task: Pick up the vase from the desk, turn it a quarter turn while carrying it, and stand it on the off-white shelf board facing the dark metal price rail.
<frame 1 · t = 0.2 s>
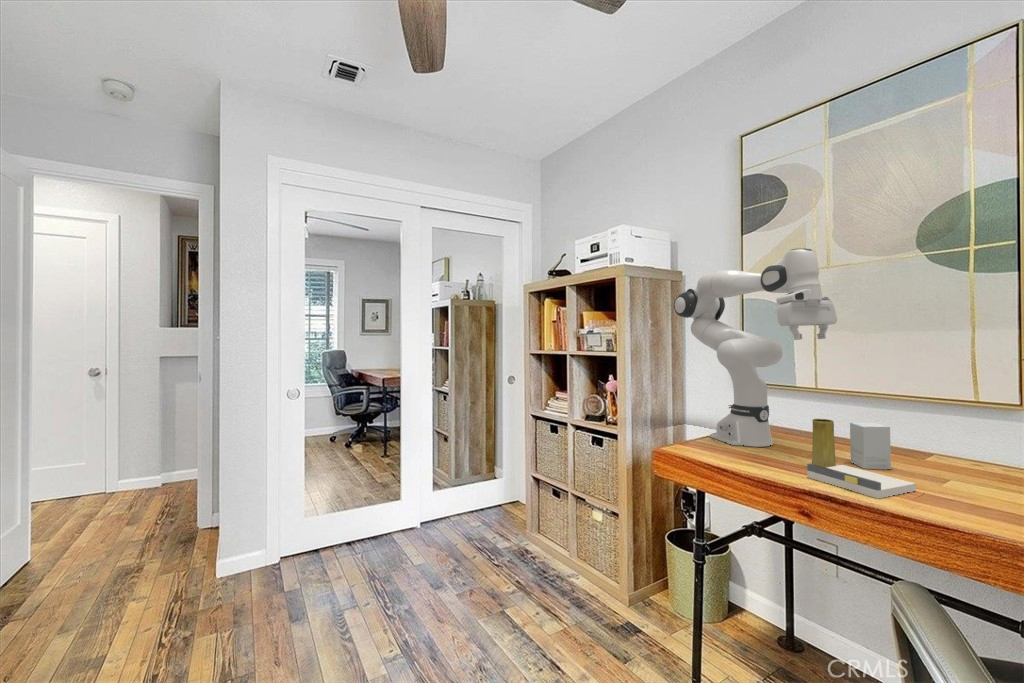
hand: (810, 339, 144), 38 cm above the table, tool pointing down, fingers open, 8 cm apart
vase: (823, 468, 134), on the table
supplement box: (870, 466, 135), on the table
shelf board: (858, 484, 119), on the table
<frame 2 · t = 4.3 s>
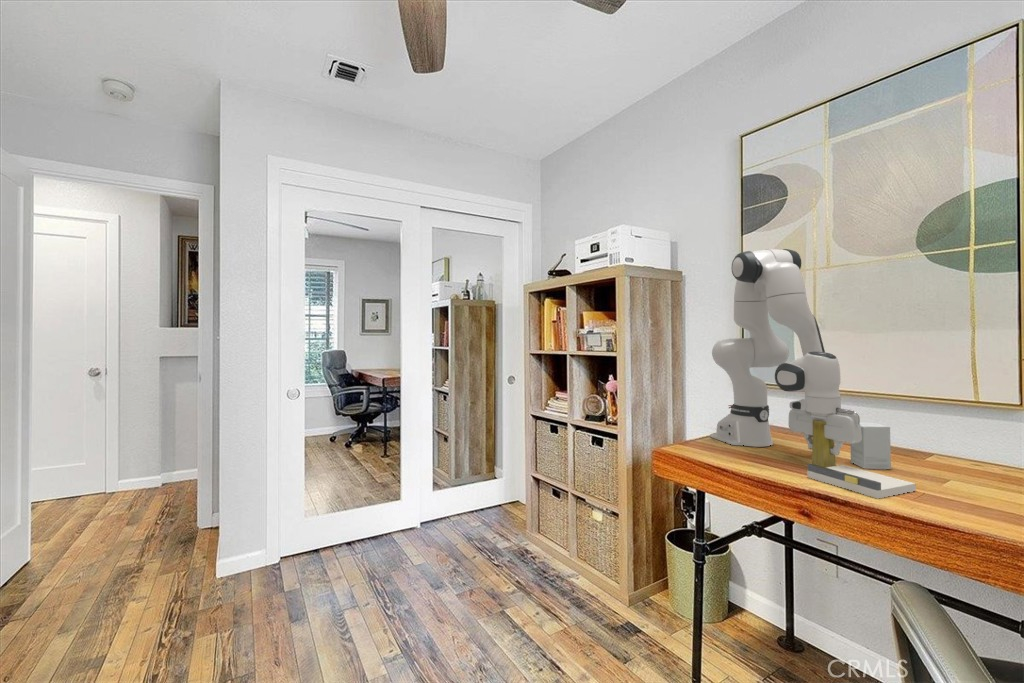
hand: (823, 451, 134), 5 cm above the table, tool pointing down, fingers closed on vase, 5 cm apart
vase: (823, 468, 134), on the table, touching gripper
everything else where it was.
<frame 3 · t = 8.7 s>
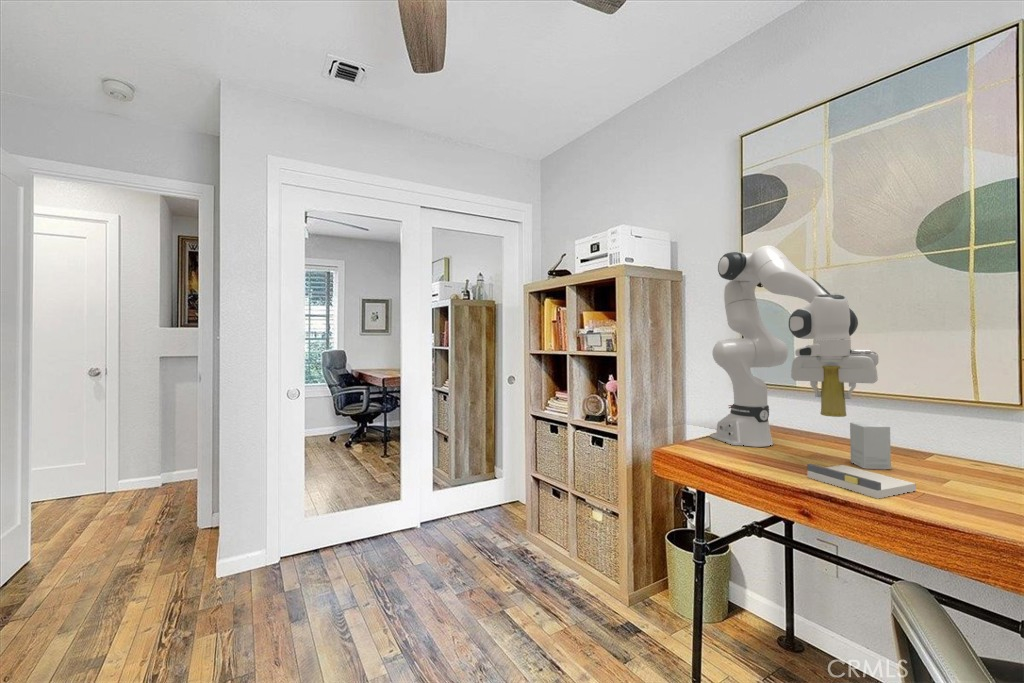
hand: (832, 397, 129), 22 cm above the table, tool pointing down, fingers closed on vase, 5 cm apart
vase: (833, 416, 129), point 16 cm above the table, touching gripper
everything else where it was.
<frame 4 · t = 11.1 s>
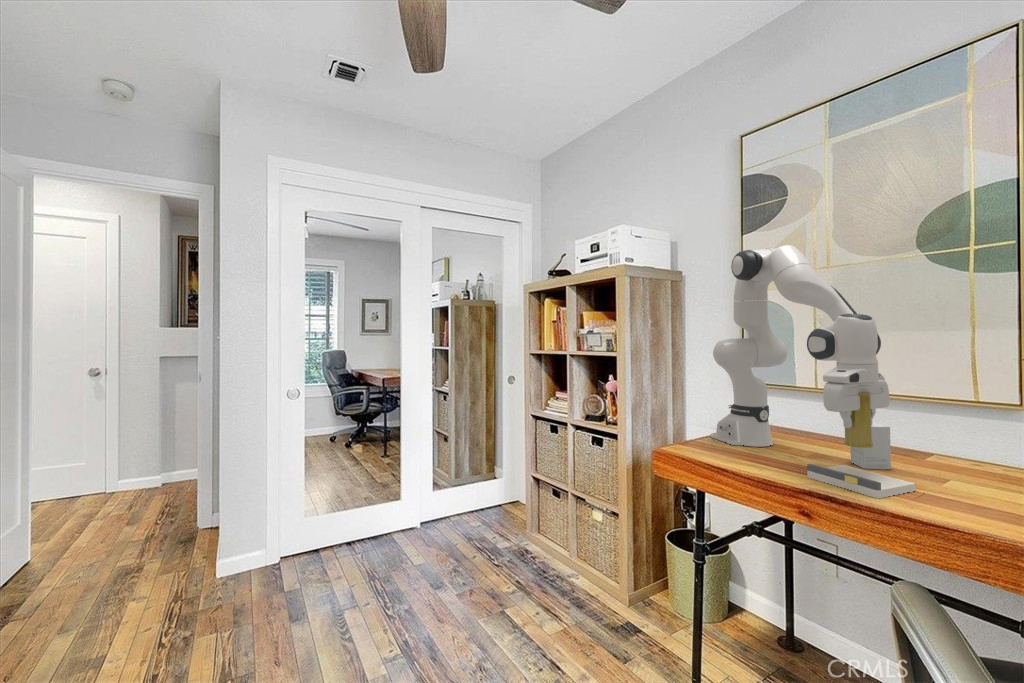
hand: (858, 426, 119), 15 cm above the table, tool pointing down, fingers closed on vase, 5 cm apart
vase: (858, 446, 119), point 10 cm above the table, touching gripper
everything else where it was.
when the fingers open (8 cm above the table, at t = 13.2 s): vase stays where it is, resting on shelf board.
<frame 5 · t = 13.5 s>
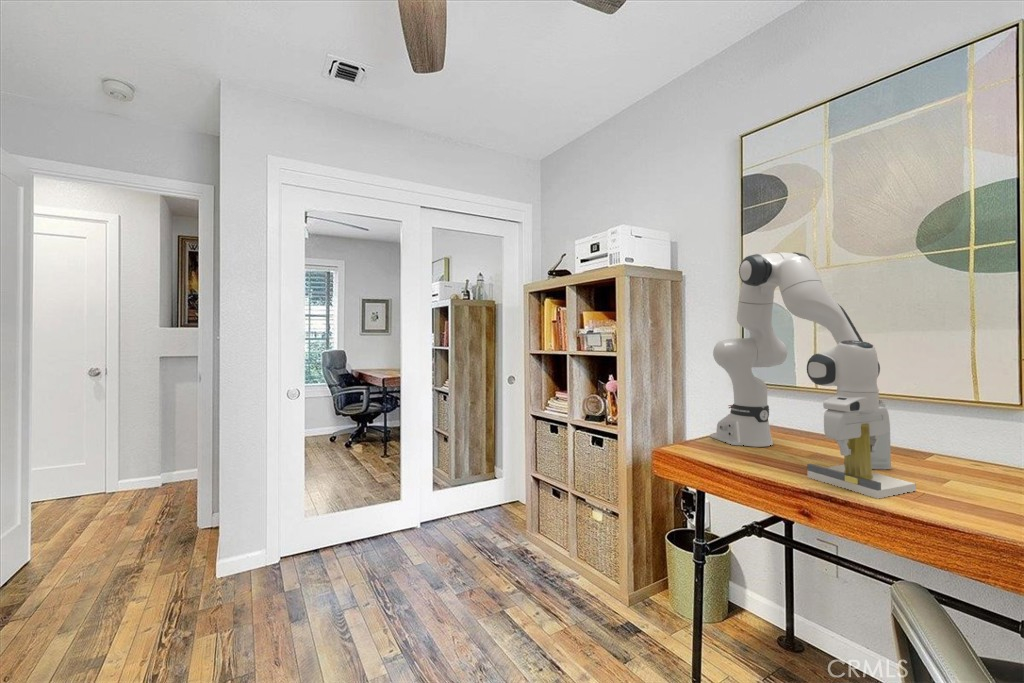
hand: (858, 453, 119), 8 cm above the table, tool pointing down, fingers open, 8 cm apart
vase: (858, 477, 119), point 2 cm above the table, touching shelf board
everything else where it was.
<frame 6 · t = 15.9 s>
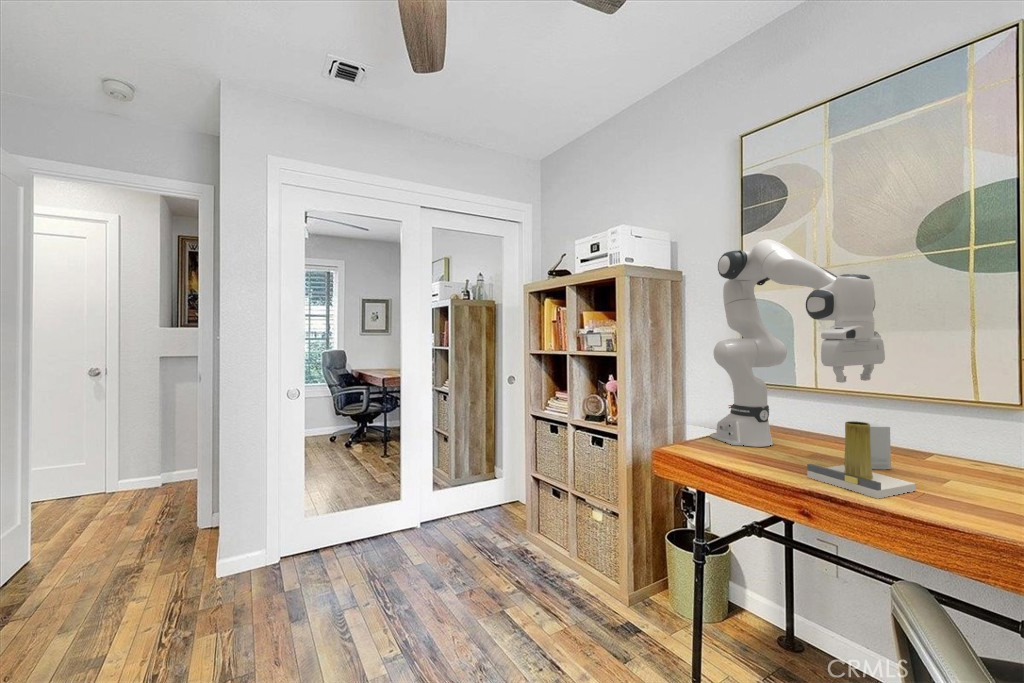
hand: (853, 381, 125), 27 cm above the table, tool pointing down, fingers open, 8 cm apart
nothing on the table moved.
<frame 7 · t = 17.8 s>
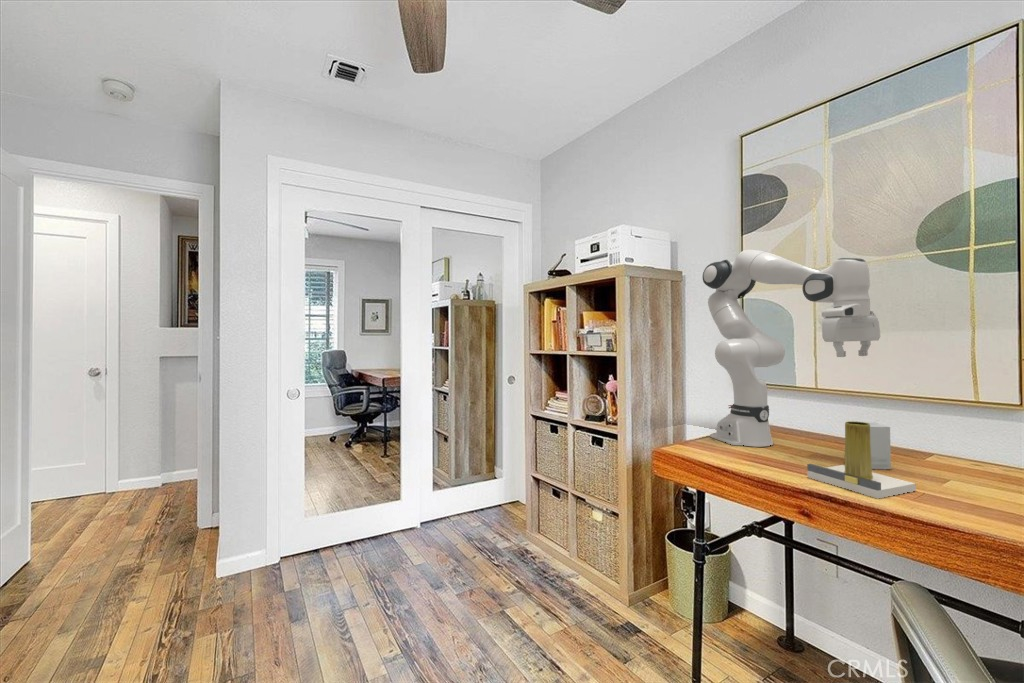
hand: (852, 356, 135), 33 cm above the table, tool pointing down, fingers open, 8 cm apart
nothing on the table moved.
at the end: vase inside the target area (0.1 cm from its centre), point 1.8 cm above the table; vase tilted 0°; the gripper is holding nothing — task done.
